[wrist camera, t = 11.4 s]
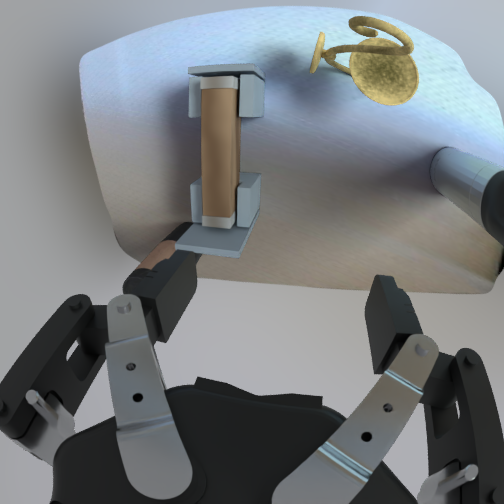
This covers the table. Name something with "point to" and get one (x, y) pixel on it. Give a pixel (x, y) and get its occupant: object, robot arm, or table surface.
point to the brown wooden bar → (220, 150)
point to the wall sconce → (376, 62)
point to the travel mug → (156, 257)
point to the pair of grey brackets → (249, 183)
